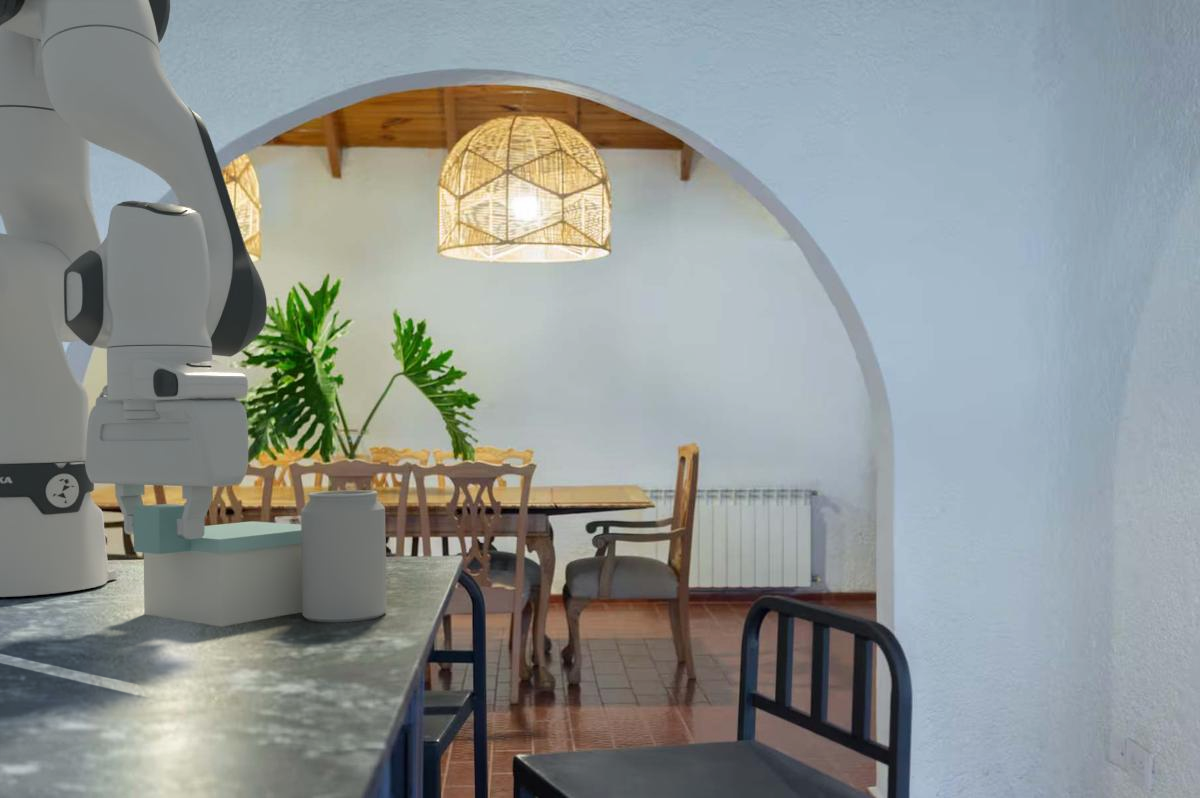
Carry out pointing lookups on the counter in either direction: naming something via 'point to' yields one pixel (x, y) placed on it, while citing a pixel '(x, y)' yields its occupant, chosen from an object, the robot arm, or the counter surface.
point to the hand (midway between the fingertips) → (163, 536)
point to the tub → (224, 585)
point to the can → (343, 556)
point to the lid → (160, 533)
